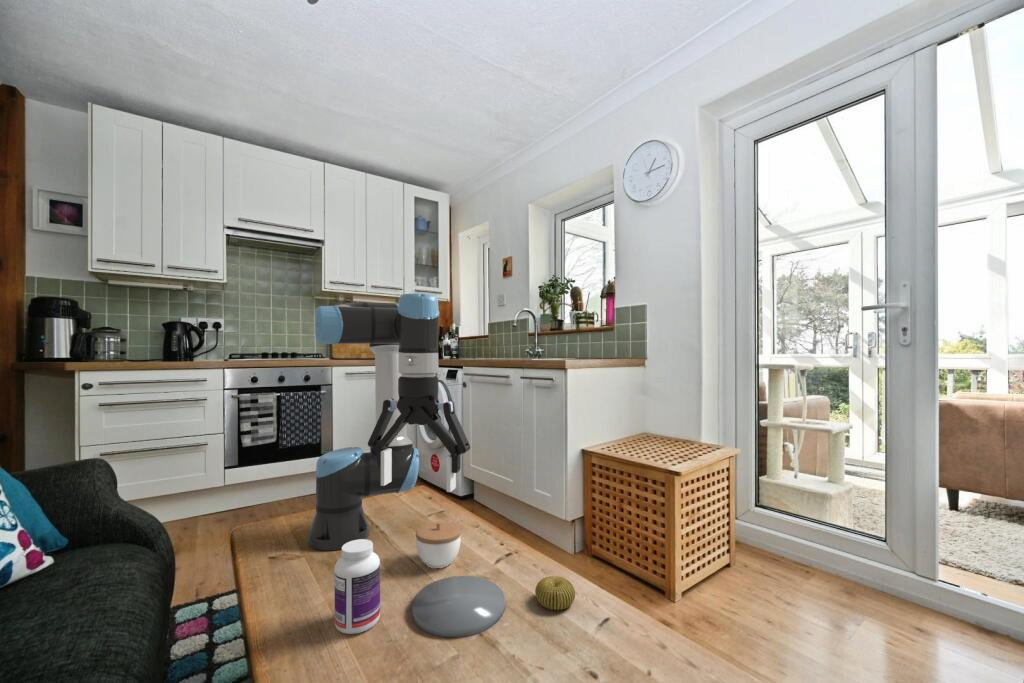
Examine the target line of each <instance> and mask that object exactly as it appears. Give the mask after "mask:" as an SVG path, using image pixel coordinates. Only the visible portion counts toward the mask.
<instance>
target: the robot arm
mask: <svg viewBox="0 0 1024 683" xmlns="http://www.w3.org/2000/svg"><path fill="white" fill-rule="evenodd" d="M314 316H315V317H314V318H315V320H314V322H315V323H314V326H315V329H314V331H315V332H314V333H315V335H314V336H315V341H316V342H317V343H319V344H326V345H328V344H330V345H348V344H350V345H355V344H356V345H358V344H359V345H360V344H361V345H362V344H363V345H364V344H366V345H367V344H368V345H369V350H370V352H372V353H373V355H374V367H375V369H374V371H375V372H374V374H375V377H374V378H375V379H374V381H375V386H374V387H375V394H374V395H375V426H374V428H373V430H372V432H371V435H370V436H369V439H368V442H367V445H368V447H369V448H370V450H369V452H364V451H363V449H362V448H361V447H358V446H351V447H342V448H338V449H334V450H332V451H328V452H326V453H324V454H322V455H321V456H320V457H319V458H318V459H317V461H316V467H315V474H314V477H315V480H316V481H315V513H314V517H313V518H312V519H313V520H312V522H311V526H310V528H309V530H308V536H307V537H308V540H307V541H308V543H307V544H308V546H309V547H310V548H312V549H314V550H318V551H337V550H342V546H343V545H344V544H346V543H348V542H350V541H353V540H358V539H368V537H369V534H370V531H369V530H370V528H369V527H370V525H369V522H368V520H367V516H366V514H365V510H364V508H363V498H364V497H365V498H366V497H371V496H379V495H387V494H394V493H395V494H399V493H402V492H408V491H411V490H412V489H414V487H415V486H416V483H417V480H418V476H419V469H420V468H419V467H420V458H419V456H420V455H419V450H418V448H416V447H414V446H413V441H412V440H411V439H410V438H409V437H408V428H407V427H408V425H415V424H417V425H418V426H425V425H427V426H428V428H430V429H431V430H432V432H434V434H435V435H436V436H437V438H438V439H439V440H440V443H442V444H443V446H444V447H445V448H446V450H447V451H448V452H449V454H448V455H447V456H446V492H447V493H452V491H454V490H455V489H456V488H457V474H458V473H459V472H460V471H461V465H462V464H461V463H462V462H461V455H462V454H466V453H468V451H470V450H471V444H470V442H469V441H468V438H467V436H466V434H465V432H464V429H463V427H462V424H461V422H460V420H459V419H458V416H457V414H456V409H455V402H454V401H453V400H449V401H448V400H447V401H446V402H439V377H438V375H436V374H438V373H439V321H440V320H439V318H440V310H439V300H438V296H435V295H434V294H429V293H418V292H417V293H415V292H414V293H404V294H402V295H400V296H399V297H398V303H396V302H393V303H392V302H385V303H384V302H359V301H358V302H357V301H356V302H348V303H342V304H337V305H321V306H318V307H317V308H316V309H315V315H314ZM439 410H440V411H441V413H442V414H443V415H444V418H445V421H446V423H447V426H448V428H449V430H450V432H451V433H450V432H449V431H448V429H447V427H446V426H445V425H444V423H443V422H442V419H441V417H439V415H438V413H439Z"/></svg>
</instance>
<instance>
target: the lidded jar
mask: <svg viewBox="0 0 1024 683" xmlns="http://www.w3.org/2000/svg"><path fill="white" fill-rule="evenodd" d="M415 537H416V538H415V540H416V550H417V553H418V554H417V555H418V557H419V558H420V560H421V561H422V562H423V563H424V564H425V565H427V566H428V568H429V567H432V568H431V569H433V568H440V569H442V568H441V567H445V566H447V567H449V566H450V565H451V564H452V563H453V561H454V560H455V559H456V557H457V556H458V554H459V551H460V549H461V548H460V547H461V542H462V541H461V539H462V528H461V526H460V525H459V524H458V523H455V522H452V521H448V520H447V521H446V520H445V521H444V520H443V521H442V520H441V521H431V522H427V523H425V524H423V525H420V526H419V527H418V528H417V529H416V531H415ZM450 563H451V564H450ZM449 564H450V565H449ZM448 565H449V566H448ZM427 566H426V567H427ZM445 568H446V567H445Z"/></svg>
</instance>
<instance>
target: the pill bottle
mask: <svg viewBox="0 0 1024 683" xmlns="http://www.w3.org/2000/svg"><path fill="white" fill-rule="evenodd" d="M333 572H334V626H335V628H336V630H337V631H338V632H340V633H343V634H347V635H355V634H360V633H363V632H366V631H368V630H370V629H371V628H373V627H374V626H375V625H376V623H378V621H379V619H380V616H381V560H380V557H379V555H378V554H377V553H375V552H374V543H373V541H372V540H369V539H368V538H366V539H358V540H353V541H350V542H348V543H346V544H344V545H343V546H342V549H341V557H339V559H338V560H337V561H336V563H335V565H334V571H333Z"/></svg>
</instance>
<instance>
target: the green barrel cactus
mask: <svg viewBox="0 0 1024 683" xmlns="http://www.w3.org/2000/svg"><path fill="white" fill-rule="evenodd" d="M534 592H535V598H536V601H537V602H538V604H540V605H541V606H542V607H543V608H546V609H548V610H551V611H553V610H554V611H562V610H565V609H568V608H569V607H570V606H571V605H572V604H573V603H574V601H575V599H576V598H575V597H576V590H575V587H574V586H573V584H572V583H571V581H569V580H568V579H567V578H565V577H563V576H558V575H557V576H556V575H555V576H554V575H550V576H546V577H542V579H540V580H539V581H538V582H537V584H536V586H535V591H534Z"/></svg>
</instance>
